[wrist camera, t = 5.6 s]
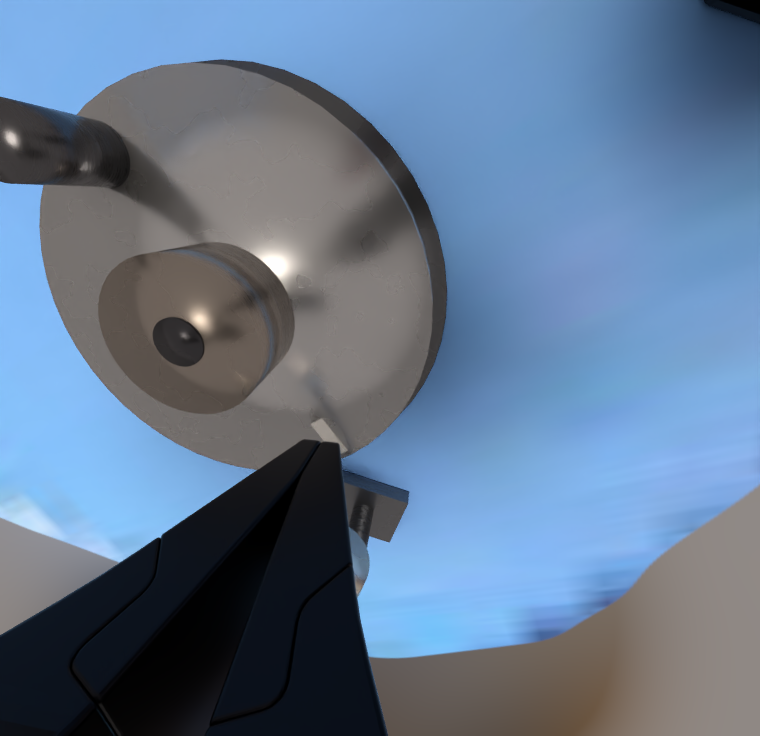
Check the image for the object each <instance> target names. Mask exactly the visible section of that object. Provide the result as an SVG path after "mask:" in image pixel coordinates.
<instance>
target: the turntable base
mask: <svg viewBox="0 0 760 736" xmlns="http://www.w3.org/2000/svg"><path fill="white" fill-rule="evenodd" d="M191 63H192V62H191ZM193 63H205V64H217V65H226V66H230V67H234V68H238V69H242V70H246V71H250V72H254V73H258V74H260V75H263V76H265V77H267V78H270V79H272V80H274V81H277V82H279V83H281V84H284V85H286V86H288V87H291V88H292V89H294V90H296V91H297V92H299V93H300V94H302V95H304V96H305V97H307V98H309V99H310V100H312V101H313V102H315V103H317V104H318V105H320V106H322V107H323V108H324V109H325V110H326V111H328V112H329V113H330V114H331V115H333V116H334V117H335V118H336V119H337V120H339V121H340V122H341V123H342V124H343V125H345V126H346V127H347V128H348V129H350V130H351V131H352V132H353V133H354V134H355V135H356V136H358V137H359V138H360V139H361V140H362V141H363V142H364V143H365V145H366V146H367V147H368V148H369V149H370V150H371V151H372V152H373V153H374V154H375V155H376V156H377V157H378V159H379V160H380V161H381V162H382V163H383V165H384V166H385V168H386V169H387V170H388V172H389V173H390V175H391V176H392V177H393V179H394V180H395V182H396V183H397V184H398V186H399V187H400V189H401V191H402V193H403V195H404V197H405V199H406V201H407V202H408V204H409V206H410V208H411V210H412V212H413V214H414V217H415V219H416V222H417V224H418V227H419V230H420V232H421V235H422V238H423V240H424V245H425V249H426V253H427V257H428V261H429V266H430V273H431V283H432V293H433V308H432V333H431V338H430V344H429V350H428V356H427V359H426V362H425V365H424V368H423V371H422V374H421V378H420V380H419V382H418V384H417V386H416V388H415V390H414V392H413V394H412V396H411V398H410V400H409V401H408V403H407V404H406V406H405V407H404V409H405V408H406V407H407V406H408V405H409V404H410V403H411V402H412V400H413V399H414V397H415V396H416V394H417V393H418V391H419V390H420V389H421V387H422V386H423V384H424V382H425V380H426V378H427V376H428V374H429V372H430V370H431V368H432V366H433V364H434V362H435V359H436V356H437V353H438V350H439V347H440V344H441V340H442V335H443V329H444V324H445V318H446V301H447V285H446V274H445V263H444V258H443V254H442V249H441V245H440V240H439V236H438V232H437V229H436V226H435V224H434V221H433V218H432V215H431V213H430V210H429V207H428V204H427V203H426V201H425V199H424V197H423V195H422V193H421V191H420V189H419V187H418V185H417V183H416V181H415V179H414V177H413V176H412V174H411V173H410V171H409V170H408V169H407V167H406V166H405V164H404V163H403V161H402V160H401V158H400V157H399V156H398V154H397V153H396V151H395V150H394V148H393V147H392V146H391V145H390V144H389V143H388V142H387V141H386V140H385V139H384V137H383V136H382V135H381V134H380V133H379V132H378V131H377V130H376V129H375V128H374V126H373V125H372V124H371V123H370V122H368V121H367V120H366V119H365V118H364V117H362V116H361V115H360V114H359V113H358V112H356V111H355V110H354V109H353V108H352V107H351V106H349V105H348V104H347V103H346V102H345V101H343V100H341V99H340V98H338V97H337V96H335V95H333V94H332V93H330V92H328V91H327V90H325V89H324V88H322V87H320V86H319V85H317V84H316V83H313V82H311V81H309V80H306V79H304V78H302V77H299V76H297V75H295V74H292V73H290V72H288V71H285V70H282V69H278V68H274V67H270V66H267V65H263V64H259V63H255V62H246V61H234V60H211V61H201V62H193ZM404 409H403V410H404ZM403 410H402V411H403ZM402 411H401V412H402ZM399 415H400V414H399Z"/></svg>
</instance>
